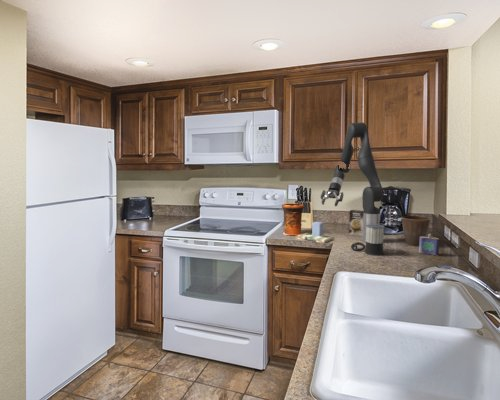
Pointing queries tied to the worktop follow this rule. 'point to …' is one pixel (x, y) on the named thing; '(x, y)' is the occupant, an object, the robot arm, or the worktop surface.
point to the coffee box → (356, 222)
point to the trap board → (315, 238)
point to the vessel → (292, 218)
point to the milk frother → (372, 240)
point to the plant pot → (414, 228)
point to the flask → (429, 245)
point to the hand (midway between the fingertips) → (328, 204)
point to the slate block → (317, 228)
